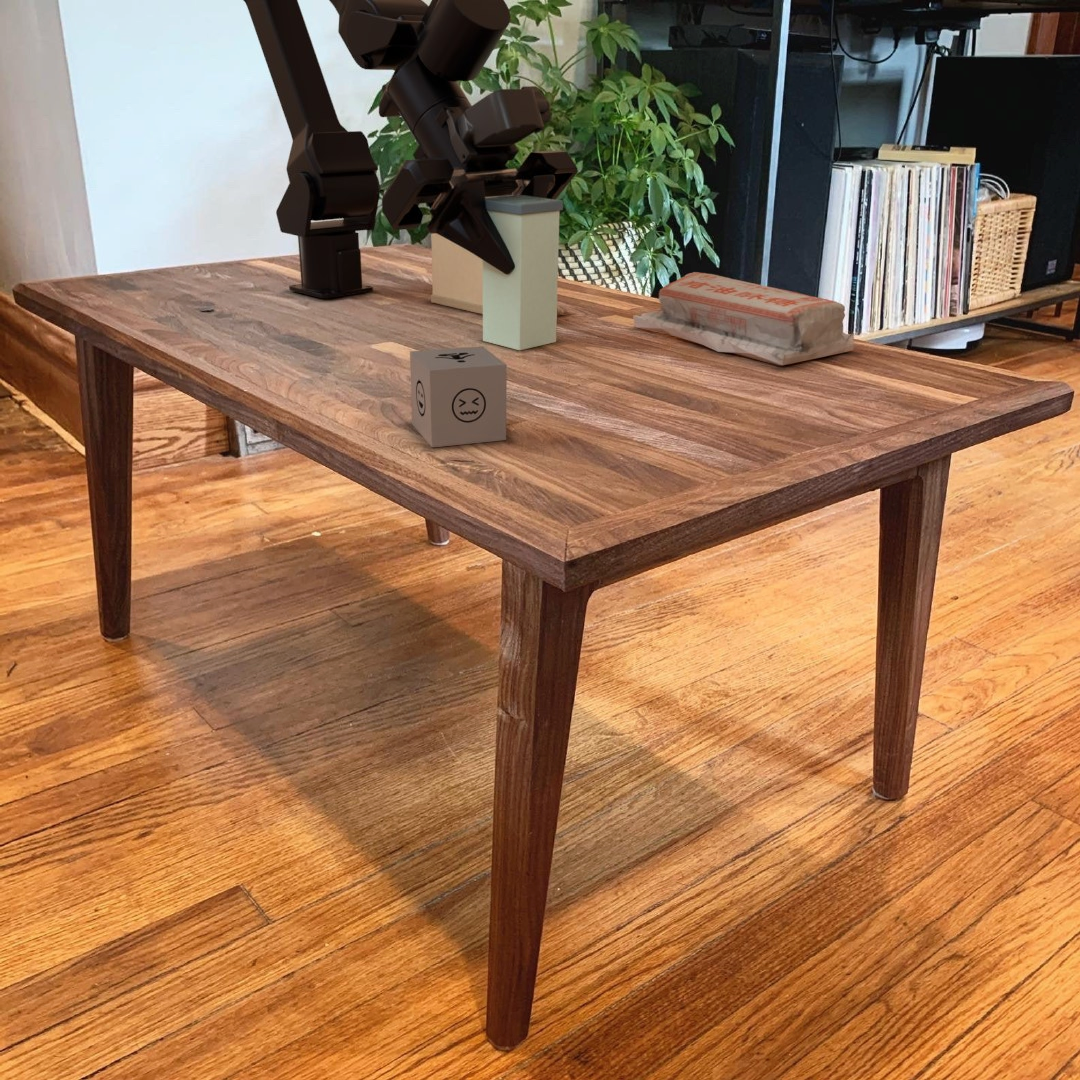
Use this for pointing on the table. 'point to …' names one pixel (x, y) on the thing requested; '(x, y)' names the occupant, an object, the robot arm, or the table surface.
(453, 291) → the wall
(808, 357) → the packaged product
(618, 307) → the table surface
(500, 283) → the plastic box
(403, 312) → the table surface
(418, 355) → the dice cube
